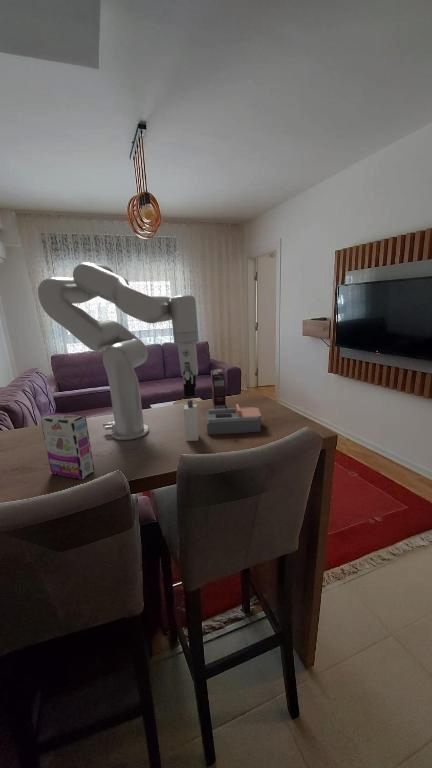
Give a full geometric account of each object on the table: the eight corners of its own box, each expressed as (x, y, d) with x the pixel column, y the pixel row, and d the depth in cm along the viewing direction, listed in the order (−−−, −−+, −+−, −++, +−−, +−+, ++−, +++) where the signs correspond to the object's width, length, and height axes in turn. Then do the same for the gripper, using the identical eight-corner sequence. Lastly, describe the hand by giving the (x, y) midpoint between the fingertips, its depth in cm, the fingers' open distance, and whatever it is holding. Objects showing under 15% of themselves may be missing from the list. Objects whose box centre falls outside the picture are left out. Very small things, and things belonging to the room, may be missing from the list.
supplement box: (212, 405, 135) (210, 369, 131) (223, 405, 135) (222, 368, 131) (214, 412, 127) (212, 374, 122) (226, 412, 127) (224, 373, 123)
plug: (186, 441, 103) (183, 403, 99) (186, 435, 107) (184, 399, 103) (198, 440, 103) (196, 402, 99) (198, 435, 107) (196, 398, 103)
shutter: (238, 419, 107) (237, 411, 107) (235, 411, 115) (235, 403, 114) (261, 418, 108) (261, 410, 107) (257, 410, 115) (257, 402, 114)
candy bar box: (95, 471, 87) (86, 415, 83) (82, 480, 82) (72, 422, 78) (64, 465, 91) (54, 411, 87) (50, 474, 86) (38, 418, 82)
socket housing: (207, 434, 107) (206, 420, 105) (207, 422, 117) (206, 409, 116) (260, 431, 107) (260, 417, 106) (255, 419, 118) (255, 406, 116)
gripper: (197, 340, 88) (202, 399, 92) (198, 333, 104) (202, 383, 109) (170, 342, 88) (176, 401, 92) (176, 335, 104) (180, 385, 109)
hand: (190, 391), depth 100 cm, fingers open, 9 cm apart
